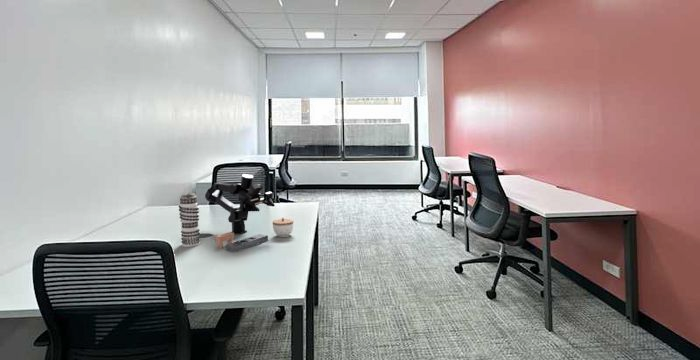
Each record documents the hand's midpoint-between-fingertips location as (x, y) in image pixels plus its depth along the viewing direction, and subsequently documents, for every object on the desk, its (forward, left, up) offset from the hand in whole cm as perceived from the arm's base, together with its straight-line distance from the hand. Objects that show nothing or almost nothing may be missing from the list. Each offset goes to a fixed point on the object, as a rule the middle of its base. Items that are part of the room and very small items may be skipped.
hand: (266, 207), depth 211 cm
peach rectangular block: (-12, -17, -17) cm, 27 cm away
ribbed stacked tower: (-29, -23, -17) cm, 41 cm away
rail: (-3, -11, -17) cm, 20 cm away
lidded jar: (+1, +11, -17) cm, 20 cm away
